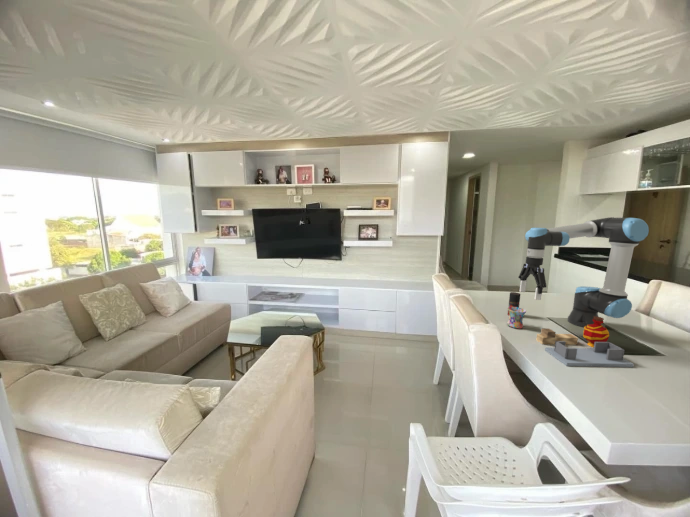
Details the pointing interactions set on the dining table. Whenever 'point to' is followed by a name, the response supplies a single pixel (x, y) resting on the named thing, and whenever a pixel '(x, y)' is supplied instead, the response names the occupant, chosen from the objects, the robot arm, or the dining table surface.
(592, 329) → the potion bottle
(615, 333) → the dining table surface
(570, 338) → the tan stepped wooden block
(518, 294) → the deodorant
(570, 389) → the dining table surface
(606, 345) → the grey slat holder base
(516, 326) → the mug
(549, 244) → the robot arm
